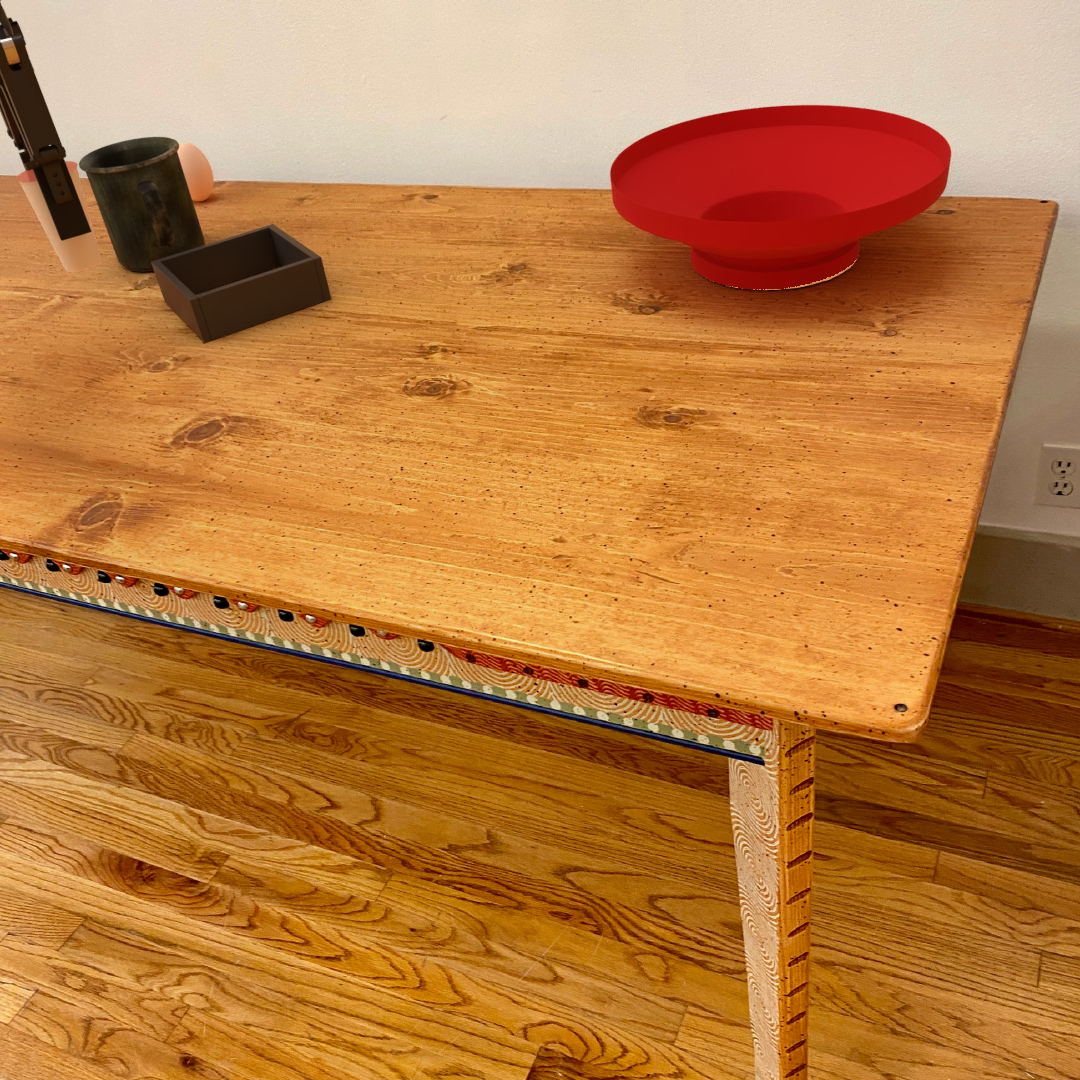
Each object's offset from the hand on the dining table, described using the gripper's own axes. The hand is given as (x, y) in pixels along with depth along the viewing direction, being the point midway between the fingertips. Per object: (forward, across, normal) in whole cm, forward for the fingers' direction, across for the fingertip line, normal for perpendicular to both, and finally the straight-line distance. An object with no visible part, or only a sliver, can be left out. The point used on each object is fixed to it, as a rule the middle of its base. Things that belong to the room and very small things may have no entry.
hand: (68, 226), depth 101 cm
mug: (+12, +19, -11) cm, 25 cm away
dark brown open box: (+12, 0, -14) cm, 18 cm away
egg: (+12, +37, -21) cm, 44 cm away
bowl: (+12, -32, -57) cm, 67 cm away
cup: (+4, 0, 0) cm, 4 cm away
